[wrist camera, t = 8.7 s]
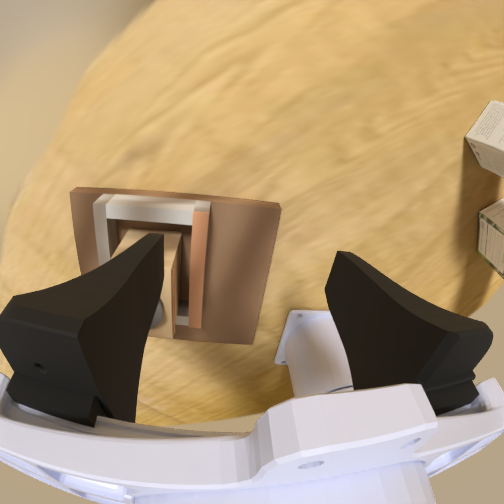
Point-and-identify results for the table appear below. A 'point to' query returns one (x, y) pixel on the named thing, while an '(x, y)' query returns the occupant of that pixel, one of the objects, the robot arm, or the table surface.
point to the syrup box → (492, 236)
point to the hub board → (190, 251)
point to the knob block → (172, 279)
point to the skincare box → (489, 138)
